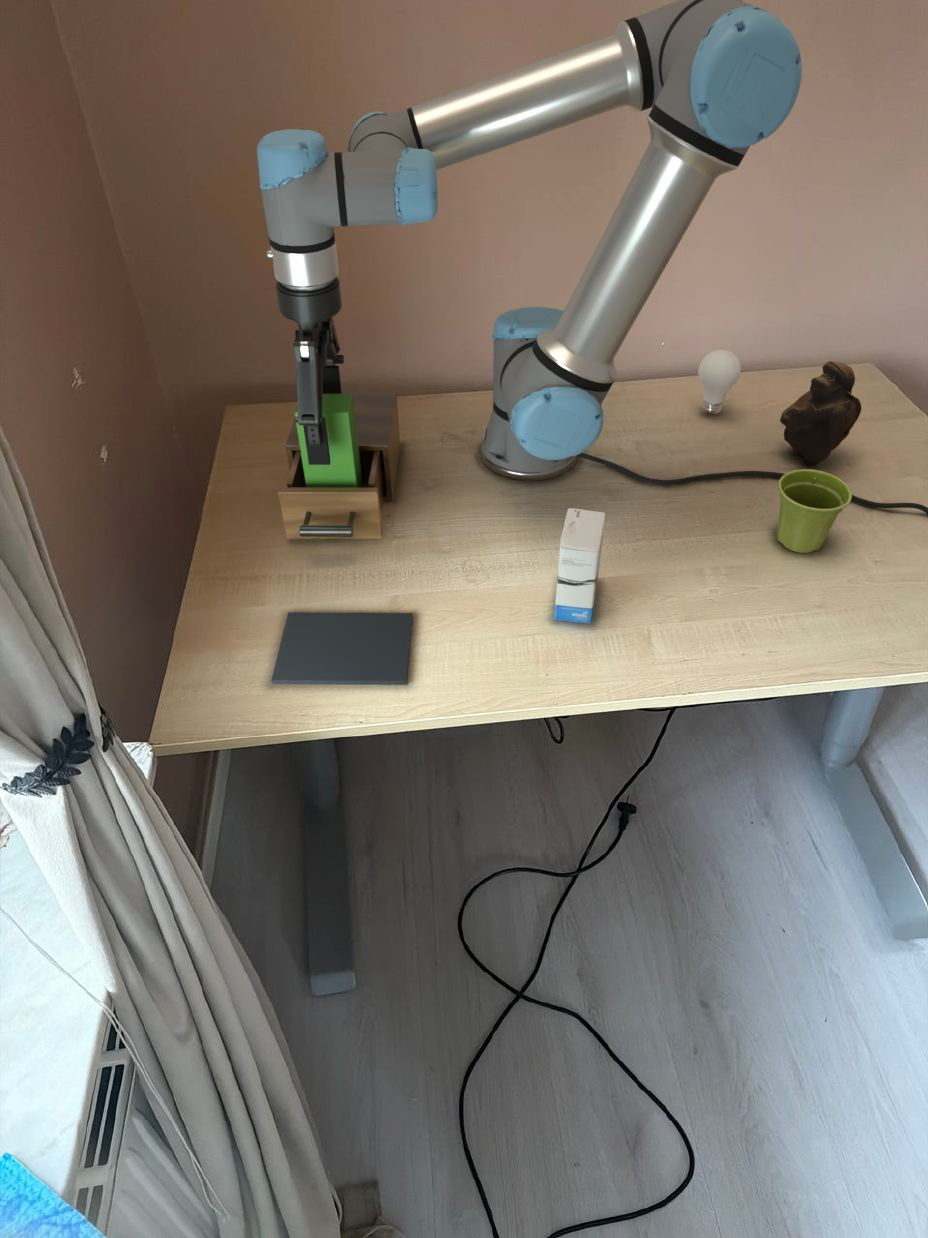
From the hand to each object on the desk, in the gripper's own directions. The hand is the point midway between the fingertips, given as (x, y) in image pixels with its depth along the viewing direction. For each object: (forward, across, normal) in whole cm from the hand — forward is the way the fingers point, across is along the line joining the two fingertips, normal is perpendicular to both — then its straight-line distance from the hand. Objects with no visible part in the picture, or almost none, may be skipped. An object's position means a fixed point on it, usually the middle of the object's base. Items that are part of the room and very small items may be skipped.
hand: (326, 435), depth 120 cm
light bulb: (+14, -30, +59) cm, 68 cm away
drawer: (+13, +1, 0) cm, 13 cm away
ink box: (+14, +18, +33) cm, 40 cm away
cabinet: (+14, -12, 0) cm, 19 cm away
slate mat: (+14, +26, +4) cm, 30 cm away
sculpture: (+14, -16, +72) cm, 75 cm away
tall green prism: (+12, 0, 0) cm, 12 cm away
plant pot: (+14, +4, +65) cm, 67 cm away
